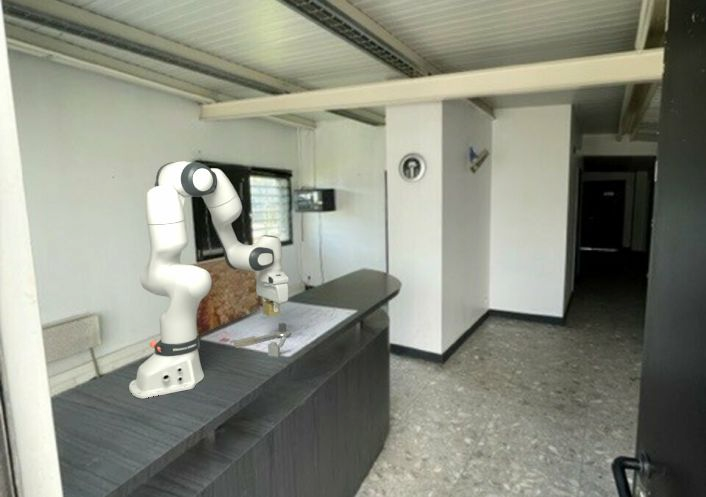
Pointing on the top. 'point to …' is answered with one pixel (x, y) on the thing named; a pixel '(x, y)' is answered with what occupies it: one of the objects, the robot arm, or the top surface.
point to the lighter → (275, 347)
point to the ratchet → (264, 337)
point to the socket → (270, 308)
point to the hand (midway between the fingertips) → (271, 309)
